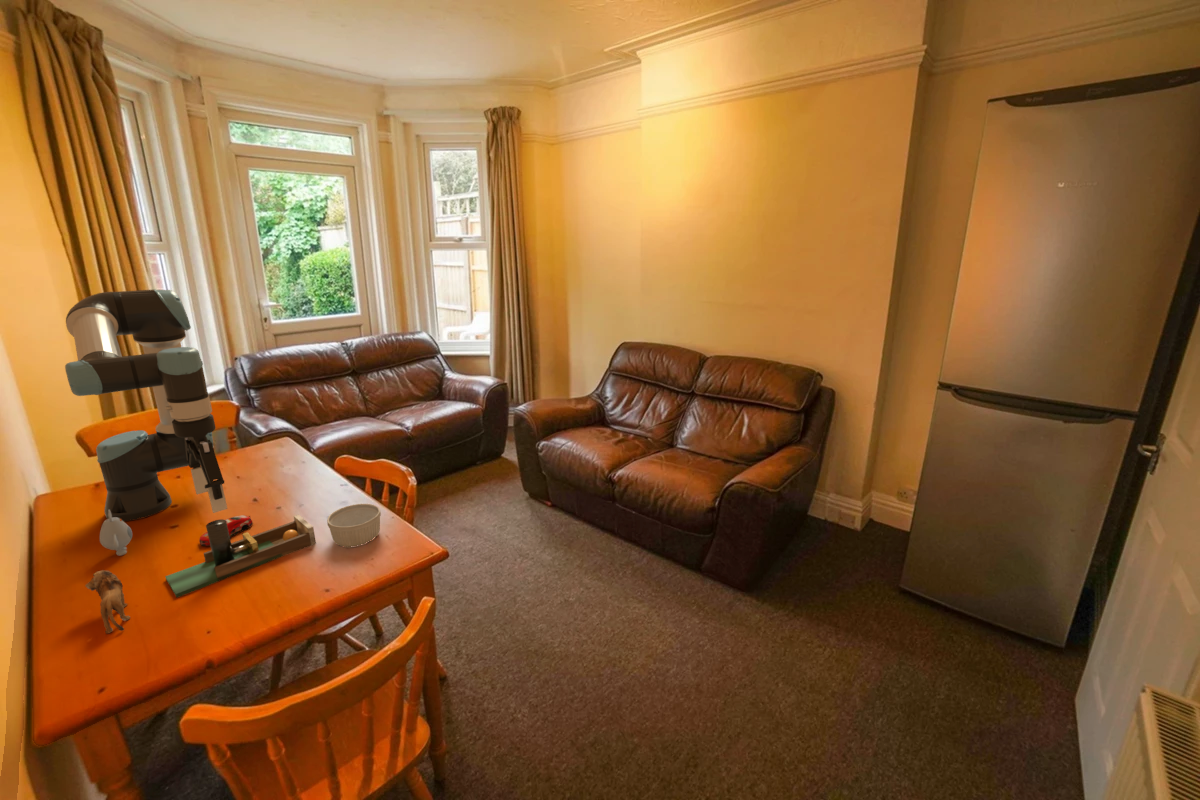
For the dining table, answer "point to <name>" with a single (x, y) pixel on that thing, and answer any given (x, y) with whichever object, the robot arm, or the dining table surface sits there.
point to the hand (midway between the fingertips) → (211, 501)
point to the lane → (243, 557)
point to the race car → (231, 528)
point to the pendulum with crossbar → (227, 542)
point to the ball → (290, 534)
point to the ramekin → (354, 524)
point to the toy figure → (115, 534)
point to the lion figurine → (109, 597)
